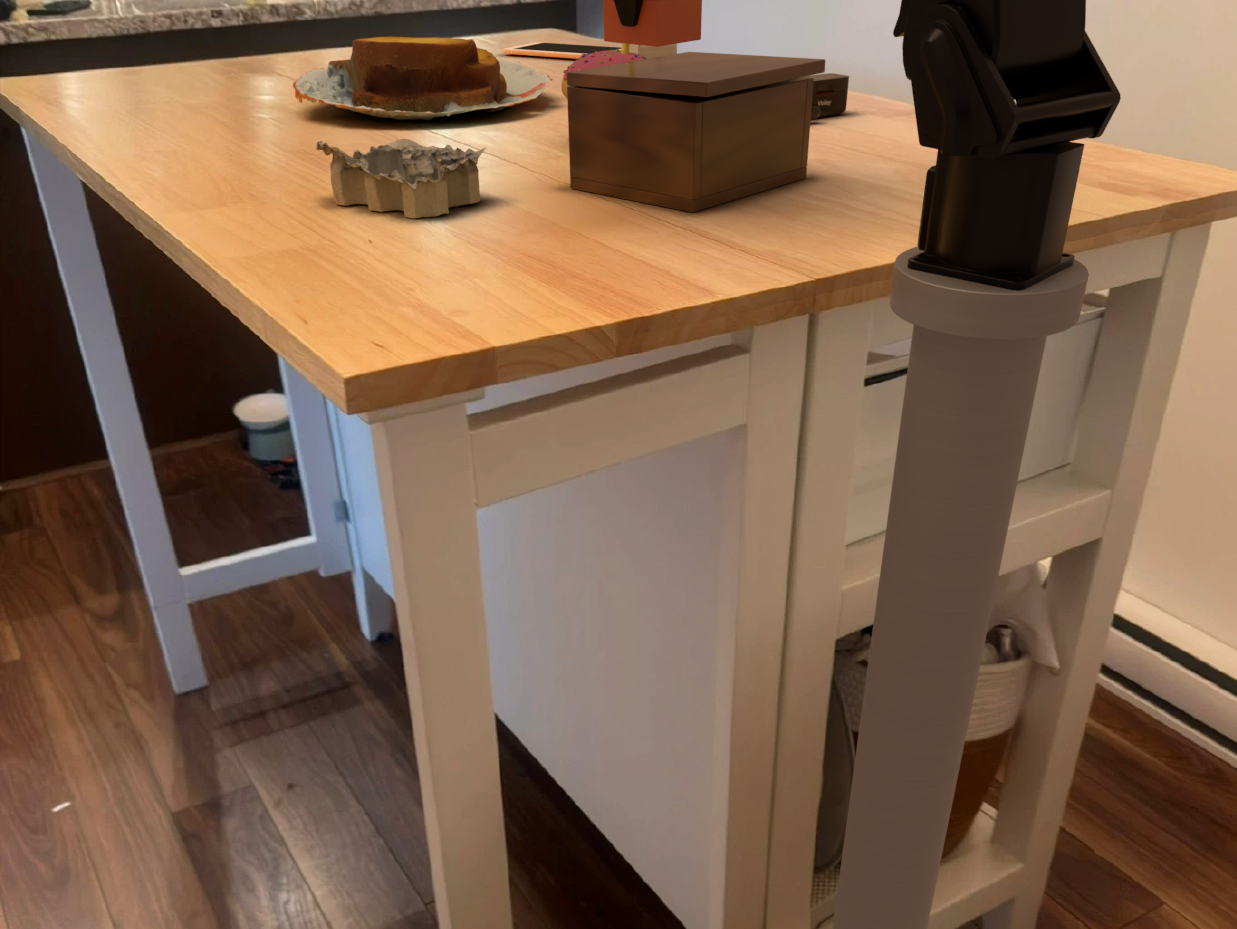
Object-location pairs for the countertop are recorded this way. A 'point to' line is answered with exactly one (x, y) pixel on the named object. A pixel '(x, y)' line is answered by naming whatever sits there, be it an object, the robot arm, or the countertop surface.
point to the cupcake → (600, 61)
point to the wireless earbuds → (829, 94)
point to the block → (656, 23)
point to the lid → (696, 73)
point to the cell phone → (556, 49)
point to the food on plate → (420, 79)
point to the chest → (688, 143)
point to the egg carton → (405, 177)
